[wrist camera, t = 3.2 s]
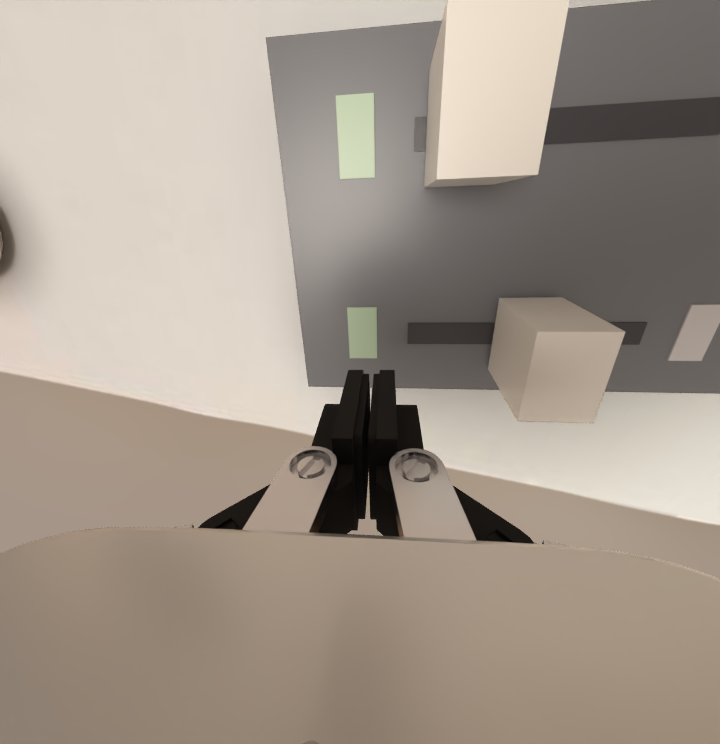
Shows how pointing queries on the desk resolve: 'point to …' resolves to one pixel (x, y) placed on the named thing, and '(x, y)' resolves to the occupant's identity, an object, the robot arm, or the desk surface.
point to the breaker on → (491, 90)
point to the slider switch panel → (507, 202)
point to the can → (1, 244)
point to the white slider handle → (552, 358)
